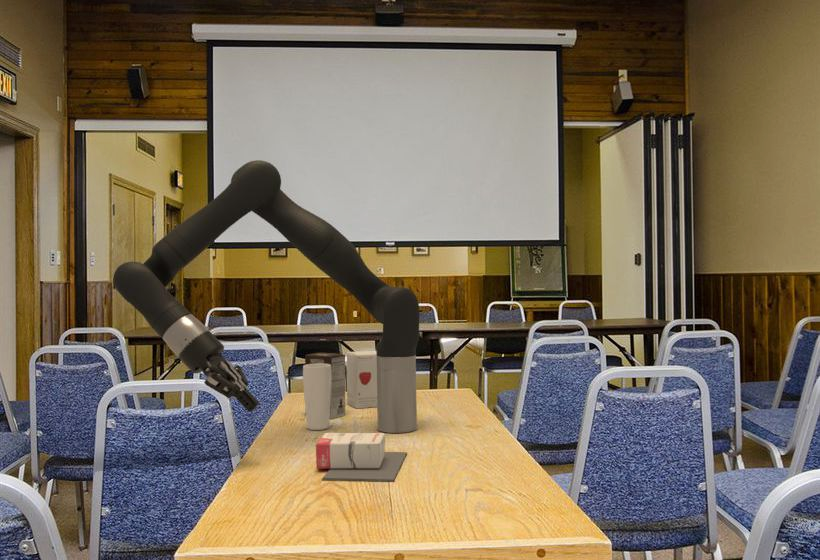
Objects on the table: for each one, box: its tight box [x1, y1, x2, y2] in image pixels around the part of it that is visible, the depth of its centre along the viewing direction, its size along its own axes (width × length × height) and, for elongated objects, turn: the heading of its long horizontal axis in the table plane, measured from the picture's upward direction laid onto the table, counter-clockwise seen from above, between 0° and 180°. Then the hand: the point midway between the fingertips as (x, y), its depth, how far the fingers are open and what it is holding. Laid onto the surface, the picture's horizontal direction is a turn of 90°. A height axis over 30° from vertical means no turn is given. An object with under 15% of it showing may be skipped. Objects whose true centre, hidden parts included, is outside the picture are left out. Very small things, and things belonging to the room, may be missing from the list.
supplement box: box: [346, 350, 377, 409], centre depth 181 cm, size 9×9×15 cm
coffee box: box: [304, 352, 346, 420], centre depth 167 cm, size 9×6×16 cm
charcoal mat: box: [321, 451, 408, 483], centre depth 119 cm, size 18×12×1 cm
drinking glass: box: [302, 364, 332, 431], centre depth 152 cm, size 7×7×15 cm
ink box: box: [315, 432, 386, 470], centre depth 120 cm, size 9×5×12 cm
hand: (255, 408), depth 122 cm, fingers closed
